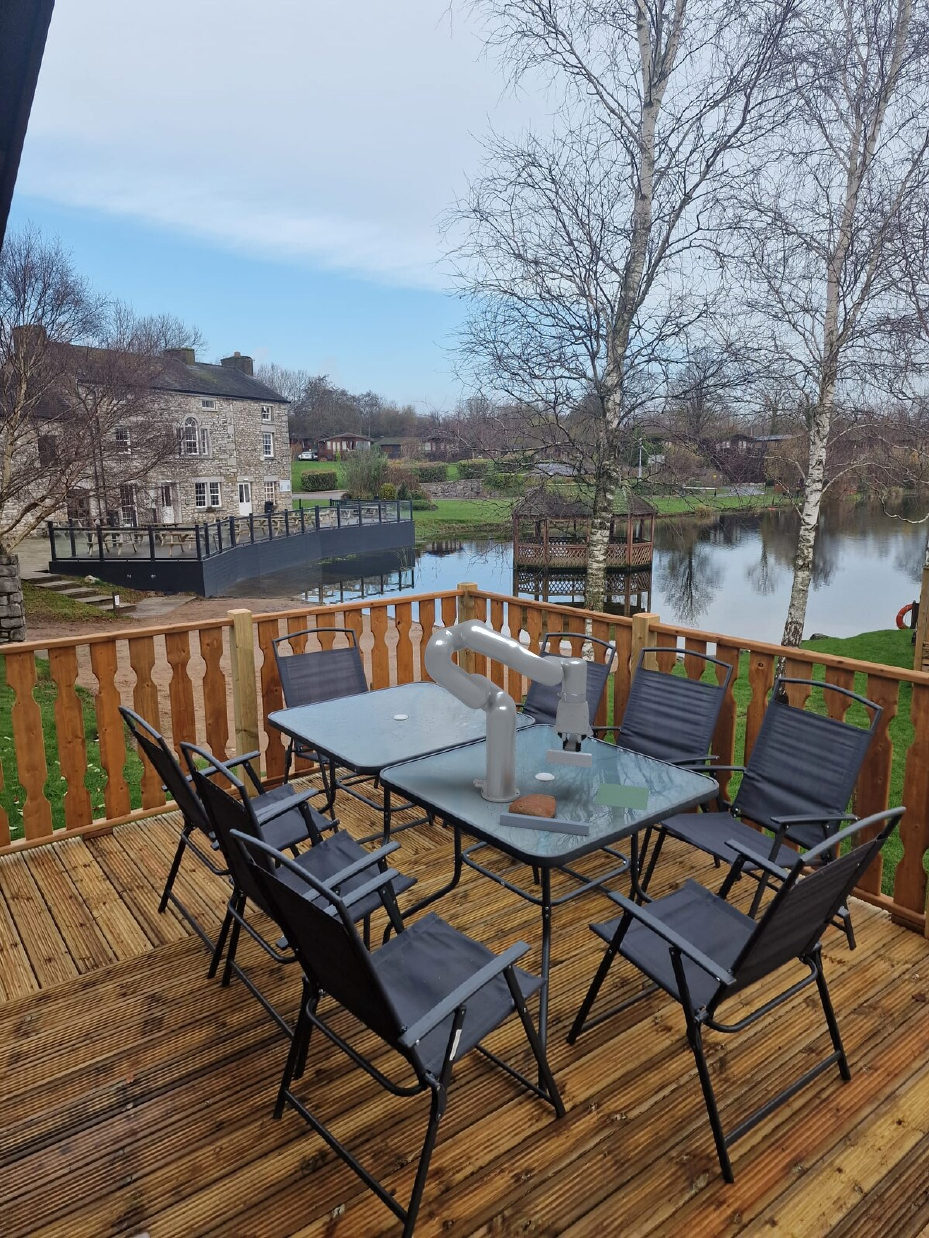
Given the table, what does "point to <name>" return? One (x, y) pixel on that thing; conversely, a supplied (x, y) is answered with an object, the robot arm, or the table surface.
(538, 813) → the ceramic shard
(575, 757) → the scraper
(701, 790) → the table surface
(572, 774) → the table surface
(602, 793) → the mat
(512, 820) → the board
